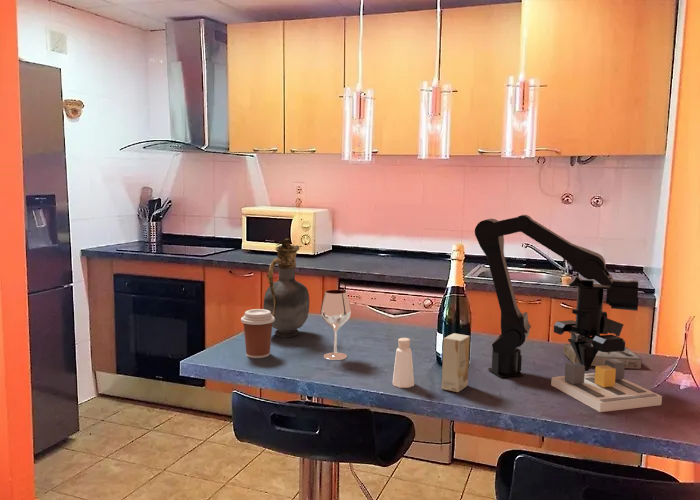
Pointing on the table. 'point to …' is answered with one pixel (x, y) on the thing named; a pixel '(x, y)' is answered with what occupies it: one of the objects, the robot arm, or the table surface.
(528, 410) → the table surface
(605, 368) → the block
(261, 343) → the coffee cup
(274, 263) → the pitcher
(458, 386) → the skincare box
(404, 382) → the pepper shaker
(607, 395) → the panel
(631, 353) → the box
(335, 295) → the wineglass
